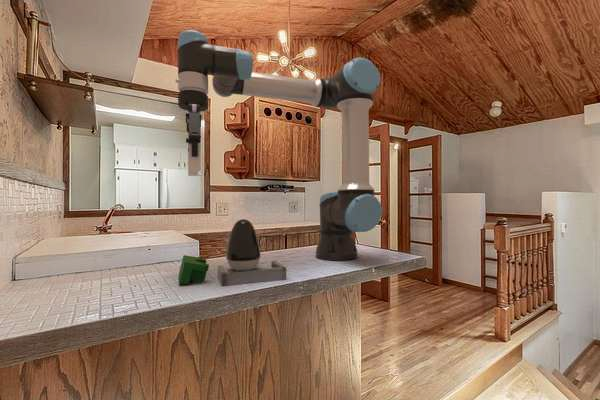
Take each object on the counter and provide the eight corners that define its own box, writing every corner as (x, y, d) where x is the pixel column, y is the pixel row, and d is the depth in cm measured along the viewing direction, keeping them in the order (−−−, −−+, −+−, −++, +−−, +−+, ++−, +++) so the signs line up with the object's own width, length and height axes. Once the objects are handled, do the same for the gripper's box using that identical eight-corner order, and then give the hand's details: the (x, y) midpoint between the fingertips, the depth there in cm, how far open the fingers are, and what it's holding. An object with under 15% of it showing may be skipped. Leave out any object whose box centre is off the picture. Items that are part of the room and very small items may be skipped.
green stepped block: (200, 299, 76) (209, 270, 74) (175, 297, 74) (184, 266, 71) (201, 272, 87) (209, 245, 84) (179, 269, 85) (187, 241, 82)
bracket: (275, 271, 88) (275, 260, 88) (286, 279, 78) (286, 267, 78) (217, 276, 82) (217, 265, 82) (222, 286, 73) (222, 273, 73)
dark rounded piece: (262, 265, 96) (261, 218, 96) (258, 273, 86) (258, 219, 86) (230, 266, 96) (229, 218, 96) (222, 273, 85) (222, 220, 85)
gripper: (178, 106, 90) (179, 177, 90) (176, 72, 67) (177, 167, 66) (205, 108, 93) (205, 177, 92) (211, 77, 69) (212, 168, 69)
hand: (193, 173), depth 79 cm, fingers open, 13 cm apart
